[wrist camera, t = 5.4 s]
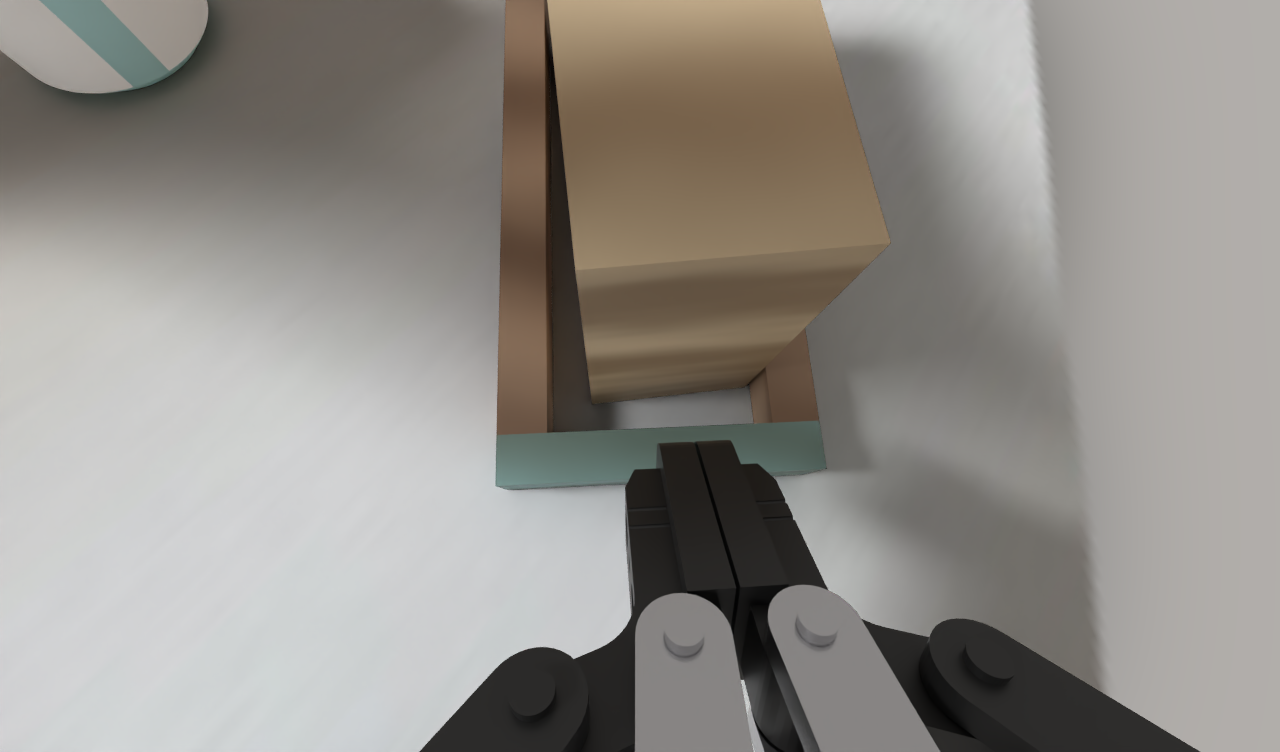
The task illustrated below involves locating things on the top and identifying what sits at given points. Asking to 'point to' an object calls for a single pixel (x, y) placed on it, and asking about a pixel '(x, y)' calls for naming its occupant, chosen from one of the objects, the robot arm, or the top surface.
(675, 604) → the robot arm
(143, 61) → the can
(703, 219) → the oak block
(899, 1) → the top surface
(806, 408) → the track
